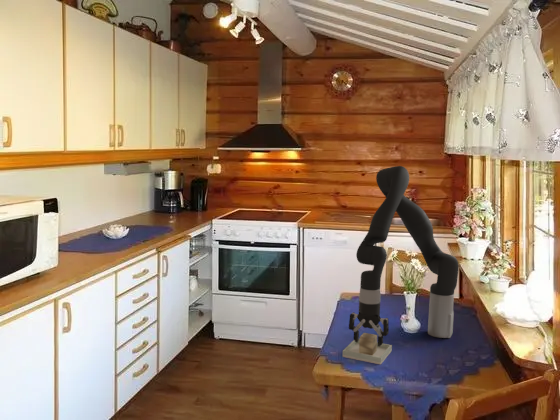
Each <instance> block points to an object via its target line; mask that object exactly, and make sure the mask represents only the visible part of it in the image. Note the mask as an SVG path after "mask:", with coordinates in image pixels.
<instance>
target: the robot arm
mask: <svg viewBox="0 0 560 420" xmlns="http://www.w3.org/2000/svg"><path fill="white" fill-rule="evenodd" d="M409 173H410V172H409V171H408V170H407V168H406V167H404V166H402V165H397V166H396V165H395V166H391V167H386V168H383V169H380V170H379V171H377V173H376V177H375V178H376V179H375V180H376V184H377V186H378V188H379V190H380V191H381V193H382V194H383V196H384V197H385V198H384V200H383V202H382V203H381V204H380V206H379V207H378V208H377V210H376V211H375V212H374V214H373V216H372V218H371V222H370V225H369V228H368V232H367V234H366V235H365V236H364V238H363V240H362V241H361V242H360V244H359V246H358V247H357V250H356V259H357V261H358V263H360V264H362V265H368V266H373V268H372V270H369V269H368V270H365V271H362V272H361V274H360V285H359V286H360V289H359V294H358V295H359V296H358V313H355V312H351V313H350V314H349V322H348V329H349V330H351V331H353V340H355V342H358V340H359V339H360V331H359V330H360V328H361V327H363V328H365V329H366V328H367V329H370V330H372V329H373V330H374V331H375V332H376V335H377V342H378V346H381V345H382V344H384V337H386V336H388V334H389V332H390V331H389V330H390V329H389V327H390V326H389V323H390V321H389V318H388V317H385V318H383V317H381V315H380V314H381V295H382V294H381V279H382V274H383V270H384V266H385V264H386V263H387V258H388V254H387V250H386V248H385V247H383V246H381V245H376V244H381V243H384V242H386V241H387V239H388V237H389V232H390V229H391V225H392V222H393V219H394V216H395V214H397V215H398V217H399V218H400V220H401V221H402V224H403V225H404V227H405V228H406V230H407V231H408V233H409V235H410V236H411V238H412V240H413V242H414V243H415V245H416V246H417V248H418V249H419V250H420V252H421V255H422V257H423V259H424V261H425V263H426V266H427V268H428V269H429V270H430V272H431V273H433V275H434V274H435V275H437V278H436V282H433V283H432V284H430V286H429V287H430V288H429V302H428V303H429V304H428V305H429V306H428V322H427V334H428V335H429V336H431V337H434V338H440V339H442V338H443V339H451V337H452V336H453V333H454V332H453V330H454V314H455V311H454V302H455V301H454V299H455V296H454V295H455V290H456V289H457V285H458V284H457V283H458V278H459V277H458V275H459V261H458V259H457V257H456V256H453V255H452V254H449V253H446V252H443V251H442V249H441V248H440V247H439V245H438V244H437V242H436V240H435V237H434V228H433V224H432V222H431V220H430V218H429V217H428V215H427V214H426V212H425V210H424V209H422V208H421V206H419V205H418V204H416V203H415V202H413V201H412V200H410V199H409V198H408V197H407V196H405V193H406V190H407V189H408V186H409V183H410V174H409ZM356 319H357V320H358V321H359V323H357V325H356V326H355V320H356ZM380 323H381V325H382V326H383V328H382V327H381V325H380ZM382 329H383V330H382Z"/></svg>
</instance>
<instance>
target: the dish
mask: <svg viewBox="0 0 560 420" xmlns="http://www.w3.org/2000/svg"><path fill="white" fill-rule="evenodd" d="M359 342H360V338H359V340H358V342H355V340H354V339H353V340H352V341H351V342H350V343H349V344H348V345H346V347H344V349H342V358H347V359H352V360H355V361H356V360H357V361H361V362H366V363H372V364H376V365H382V364H383V362H384V361H385V360H386V359H387V358H388V356H389V355H390V354H391V352H393V351H392V349H393V344H389V343H388V344H387V343H383V344H382V345H381V346H378V341H377V351H376V352H375V353H374V354H373V355H368V354H362V353H359Z"/></svg>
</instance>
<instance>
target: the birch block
mask: <svg viewBox="0 0 560 420" xmlns="http://www.w3.org/2000/svg"><path fill="white" fill-rule="evenodd" d="M359 339H360V342H359V353H362V354H368V355H373V354H374V353H375V352H376V351H377V342H378V334H374V333H367V332H363V333H362V334H361V335H359Z"/></svg>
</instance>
